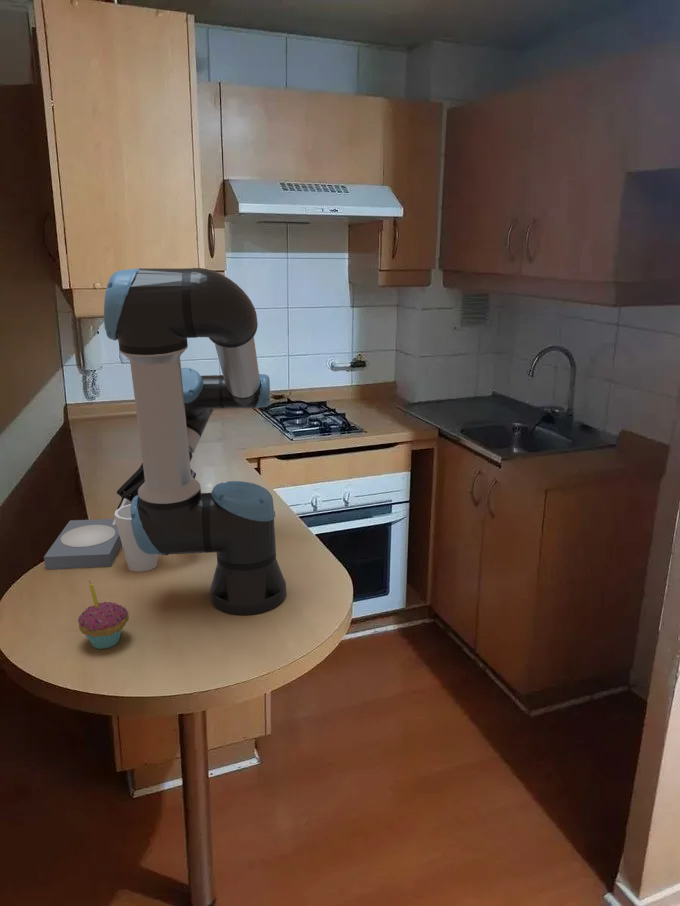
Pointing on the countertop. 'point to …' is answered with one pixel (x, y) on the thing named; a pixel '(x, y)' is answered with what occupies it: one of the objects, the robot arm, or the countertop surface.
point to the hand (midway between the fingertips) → (140, 532)
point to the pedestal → (84, 545)
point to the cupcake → (103, 622)
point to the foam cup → (132, 543)
